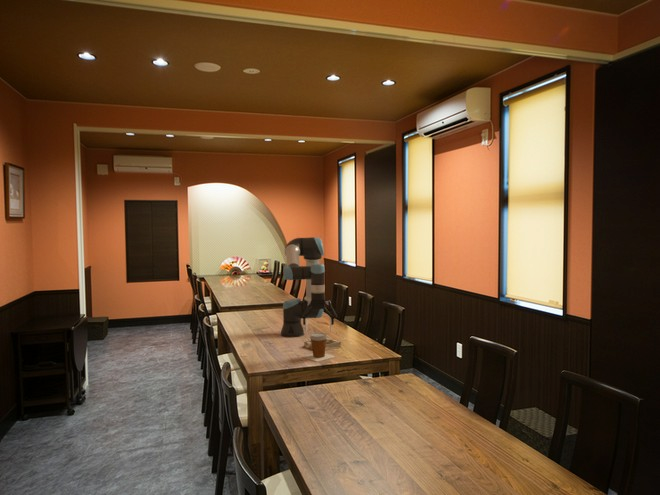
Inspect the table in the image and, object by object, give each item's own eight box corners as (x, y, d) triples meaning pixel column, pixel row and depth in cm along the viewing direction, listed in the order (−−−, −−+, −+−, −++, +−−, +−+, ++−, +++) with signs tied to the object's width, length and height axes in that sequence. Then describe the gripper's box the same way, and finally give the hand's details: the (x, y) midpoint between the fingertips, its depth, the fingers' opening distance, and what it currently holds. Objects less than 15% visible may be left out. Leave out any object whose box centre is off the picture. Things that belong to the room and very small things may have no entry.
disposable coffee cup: (325, 359, 251) (325, 337, 251) (308, 358, 253) (307, 336, 253) (329, 354, 261) (328, 332, 260) (312, 353, 263) (312, 332, 262)
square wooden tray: (304, 346, 279) (304, 341, 279) (324, 342, 289) (324, 337, 289) (320, 351, 267) (320, 346, 267) (340, 346, 277) (340, 341, 277)
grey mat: (302, 356, 258) (302, 356, 258) (320, 352, 266) (320, 351, 266) (317, 362, 248) (317, 361, 248) (335, 357, 256) (335, 356, 256)
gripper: (294, 293, 252) (295, 332, 253) (340, 293, 250) (341, 332, 251) (296, 291, 260) (297, 329, 261) (341, 291, 258) (341, 329, 259)
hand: (318, 330), depth 256 cm, fingers open, 13 cm apart
